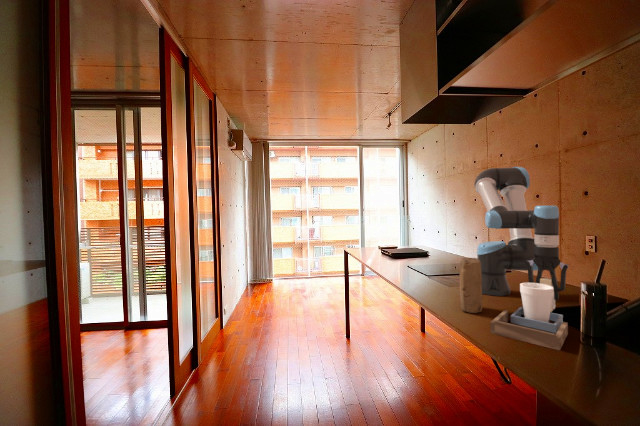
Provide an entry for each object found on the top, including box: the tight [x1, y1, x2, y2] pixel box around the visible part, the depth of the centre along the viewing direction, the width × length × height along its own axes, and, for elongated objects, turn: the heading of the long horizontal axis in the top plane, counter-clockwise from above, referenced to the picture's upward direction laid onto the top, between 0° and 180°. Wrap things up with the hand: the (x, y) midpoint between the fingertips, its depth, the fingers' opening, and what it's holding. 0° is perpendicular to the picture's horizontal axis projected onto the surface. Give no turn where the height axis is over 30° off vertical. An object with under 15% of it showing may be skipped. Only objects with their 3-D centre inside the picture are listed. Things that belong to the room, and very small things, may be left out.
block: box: [459, 257, 483, 314], centre depth 121 cm, size 11×8×20 cm
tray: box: [510, 277, 564, 334], centre depth 110 cm, size 25×13×12 cm, turn 135°
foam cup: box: [519, 282, 554, 323], centre depth 105 cm, size 10×9×13 cm
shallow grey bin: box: [489, 309, 569, 351], centre depth 97 cm, size 16×18×4 cm
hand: (546, 306), depth 118 cm, fingers closed on tray, 3 cm apart
